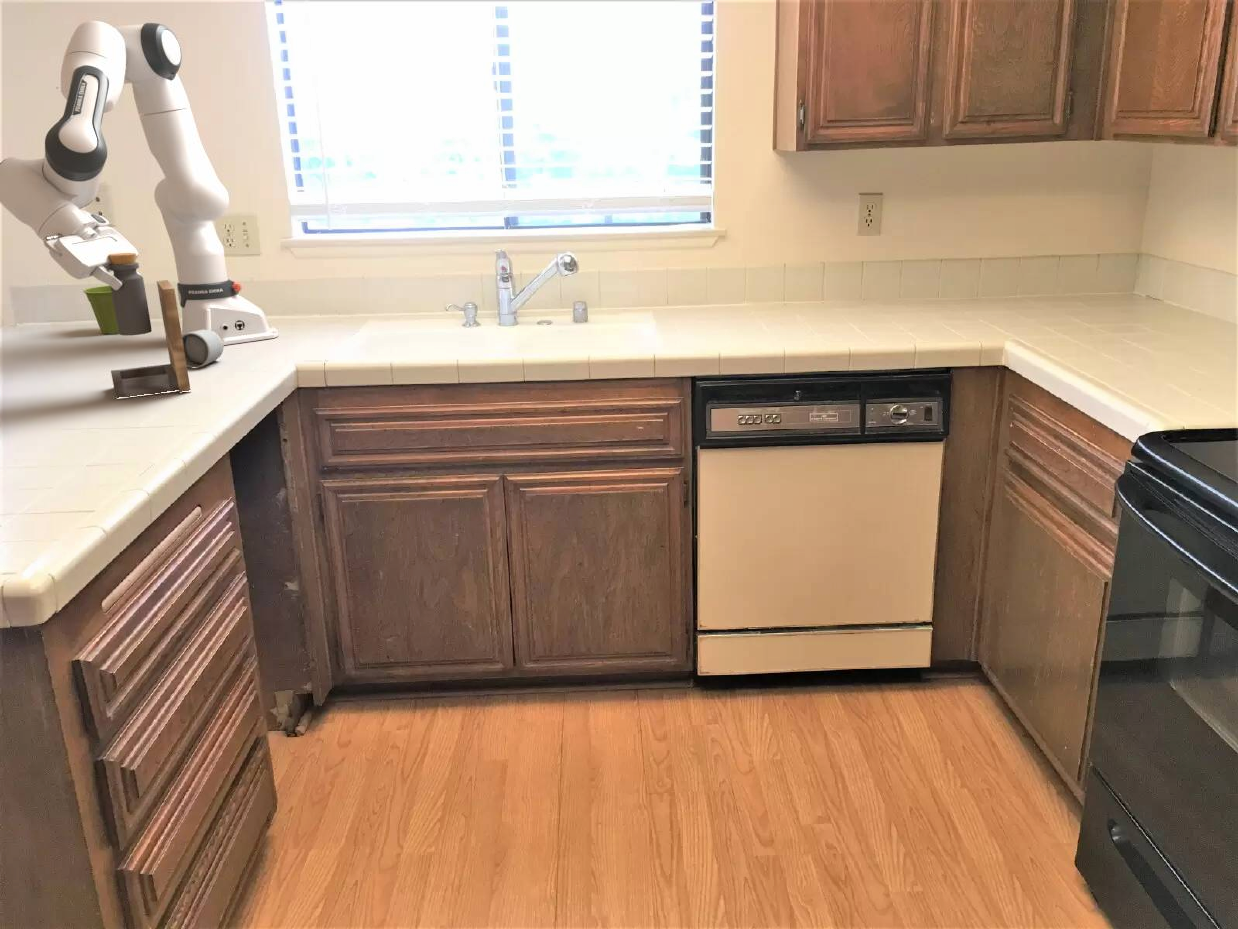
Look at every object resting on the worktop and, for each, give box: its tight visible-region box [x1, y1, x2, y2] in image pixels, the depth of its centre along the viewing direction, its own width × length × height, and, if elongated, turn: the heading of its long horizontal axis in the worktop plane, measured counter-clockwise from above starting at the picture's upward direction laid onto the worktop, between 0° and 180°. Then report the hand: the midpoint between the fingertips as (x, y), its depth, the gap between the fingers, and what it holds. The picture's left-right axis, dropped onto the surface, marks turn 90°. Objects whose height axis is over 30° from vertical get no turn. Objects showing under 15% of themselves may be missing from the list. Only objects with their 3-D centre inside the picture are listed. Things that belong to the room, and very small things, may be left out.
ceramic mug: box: [182, 330, 224, 368], centre depth 218 cm, size 11×8×8 cm
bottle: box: [108, 253, 153, 336], centre depth 191 cm, size 6×6×15 cm
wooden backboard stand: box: [110, 279, 192, 399], centre depth 195 cm, size 13×14×20 cm
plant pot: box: [82, 284, 120, 335], centre depth 256 cm, size 12×12×11 cm
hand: (130, 284), depth 191 cm, fingers closed on bottle, 6 cm apart
